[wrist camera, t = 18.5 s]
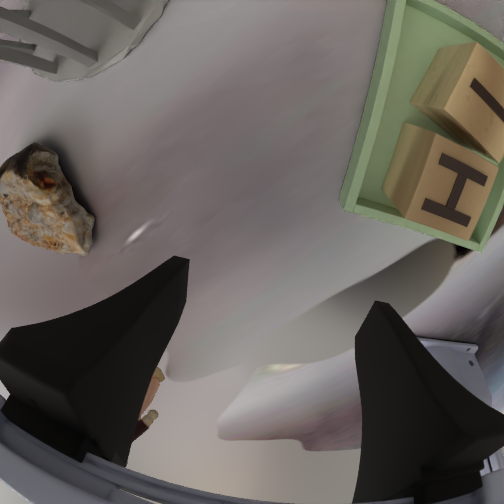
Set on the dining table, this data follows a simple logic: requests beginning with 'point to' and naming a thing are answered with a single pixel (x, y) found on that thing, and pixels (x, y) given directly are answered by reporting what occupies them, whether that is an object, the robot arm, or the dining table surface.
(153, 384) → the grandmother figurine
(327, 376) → the dining table surface
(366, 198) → the tray
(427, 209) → the wooden h block
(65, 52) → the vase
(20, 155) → the rock
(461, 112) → the wooden i block
